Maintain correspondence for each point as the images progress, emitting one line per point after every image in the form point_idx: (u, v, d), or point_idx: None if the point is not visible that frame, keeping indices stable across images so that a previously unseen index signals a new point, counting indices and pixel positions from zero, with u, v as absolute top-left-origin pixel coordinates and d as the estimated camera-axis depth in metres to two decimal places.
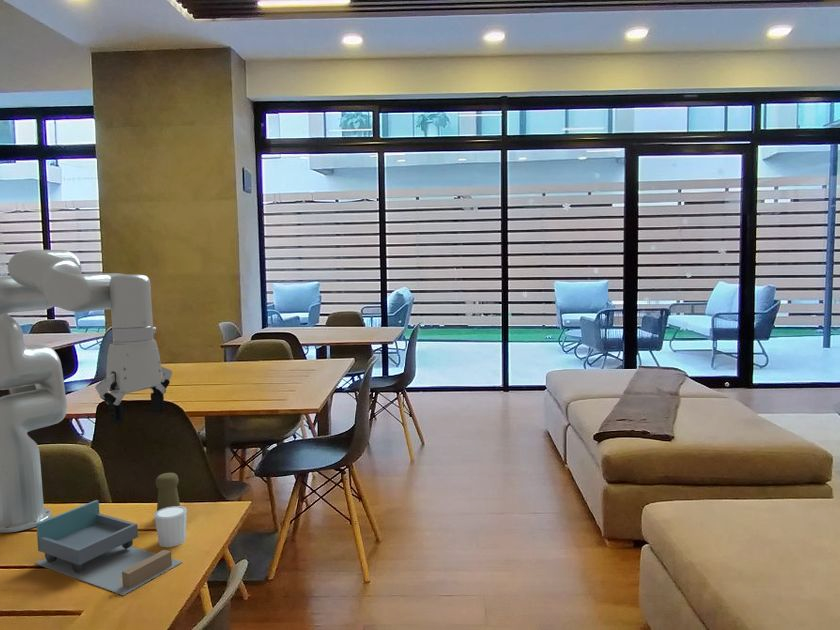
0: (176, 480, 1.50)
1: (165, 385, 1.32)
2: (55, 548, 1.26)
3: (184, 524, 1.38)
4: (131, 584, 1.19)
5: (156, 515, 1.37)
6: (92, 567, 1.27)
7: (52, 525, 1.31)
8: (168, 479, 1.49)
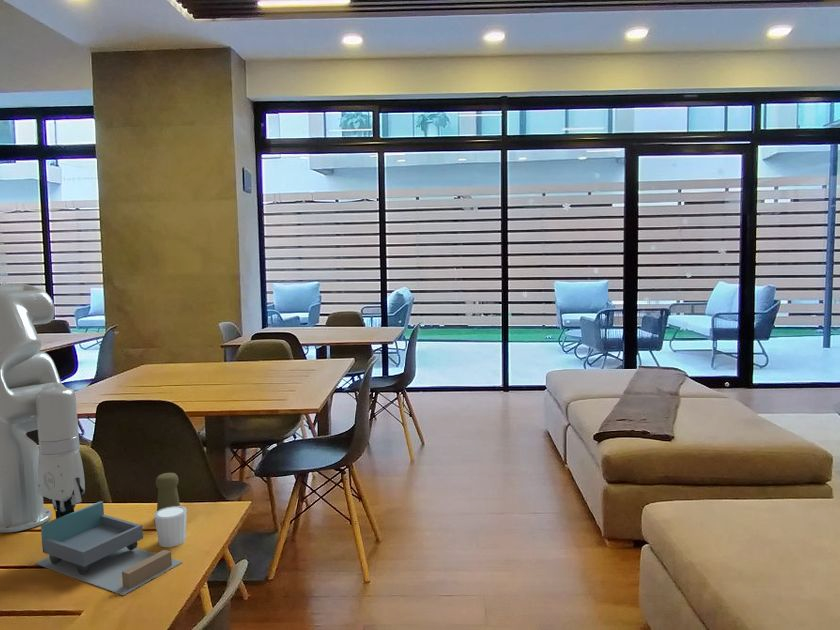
0: (176, 480, 1.50)
1: None
2: (60, 550, 1.25)
3: (184, 524, 1.38)
4: (131, 584, 1.19)
5: (156, 515, 1.37)
6: (92, 567, 1.27)
7: (56, 526, 1.30)
8: (168, 479, 1.49)
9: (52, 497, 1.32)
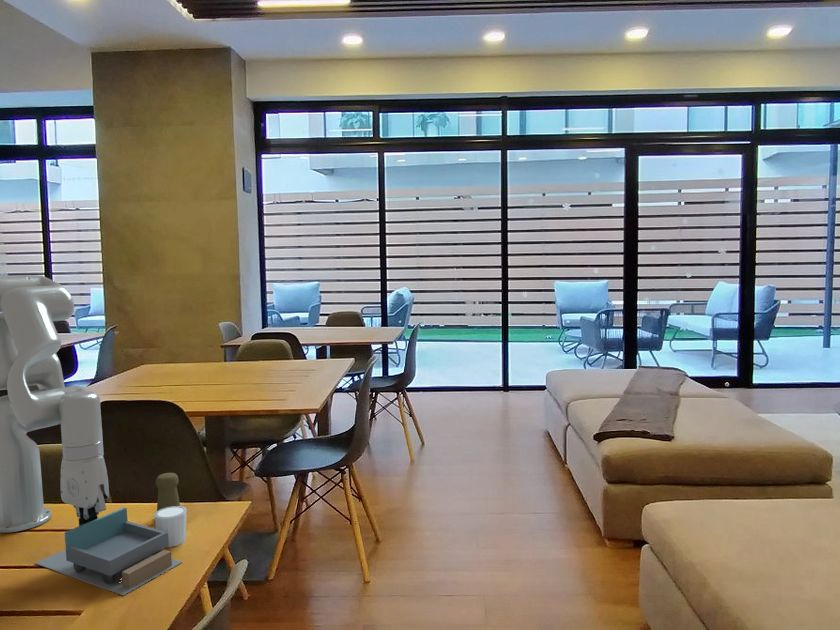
0: (176, 480, 1.50)
1: None
2: (85, 558, 1.22)
3: (184, 524, 1.38)
4: (131, 584, 1.19)
5: (156, 515, 1.37)
6: None
7: (80, 534, 1.26)
8: (168, 479, 1.49)
9: (76, 504, 1.28)
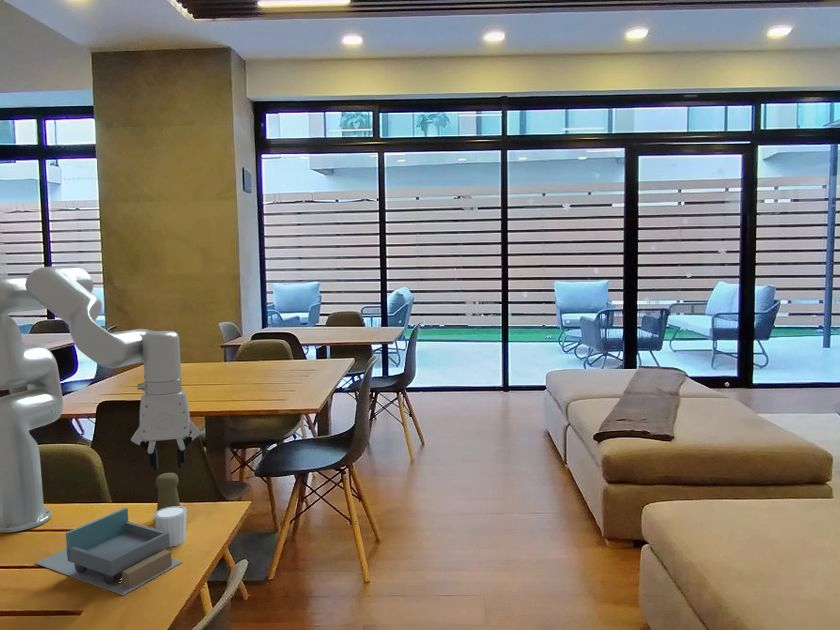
0: (176, 480, 1.50)
1: None
2: (86, 558, 1.21)
3: (184, 524, 1.38)
4: (131, 584, 1.19)
5: (156, 515, 1.37)
6: None
7: (81, 534, 1.26)
8: (168, 479, 1.49)
9: (168, 437, 1.34)
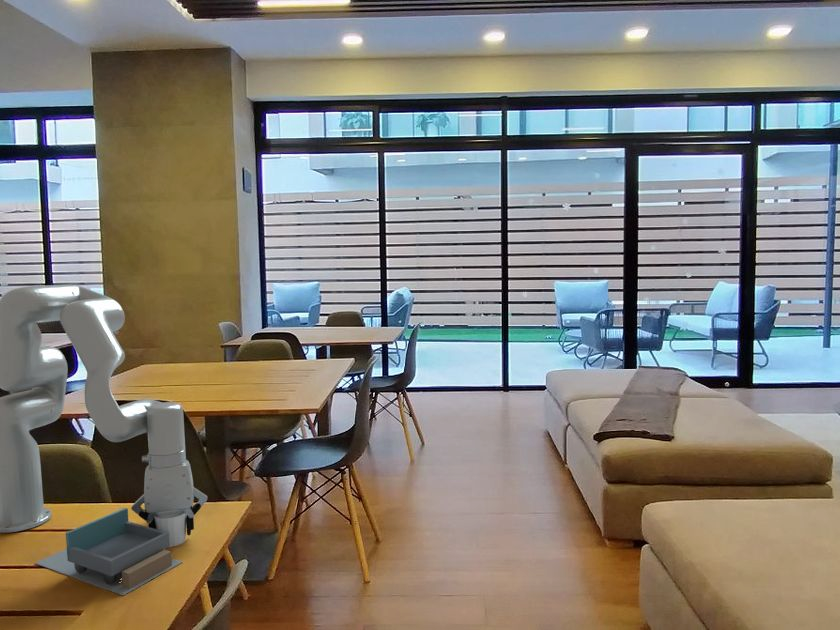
0: None
1: None
2: (86, 558, 1.21)
3: (184, 524, 1.38)
4: (131, 584, 1.19)
5: (156, 515, 1.36)
6: None
7: (81, 534, 1.26)
8: None
9: (172, 508, 1.36)
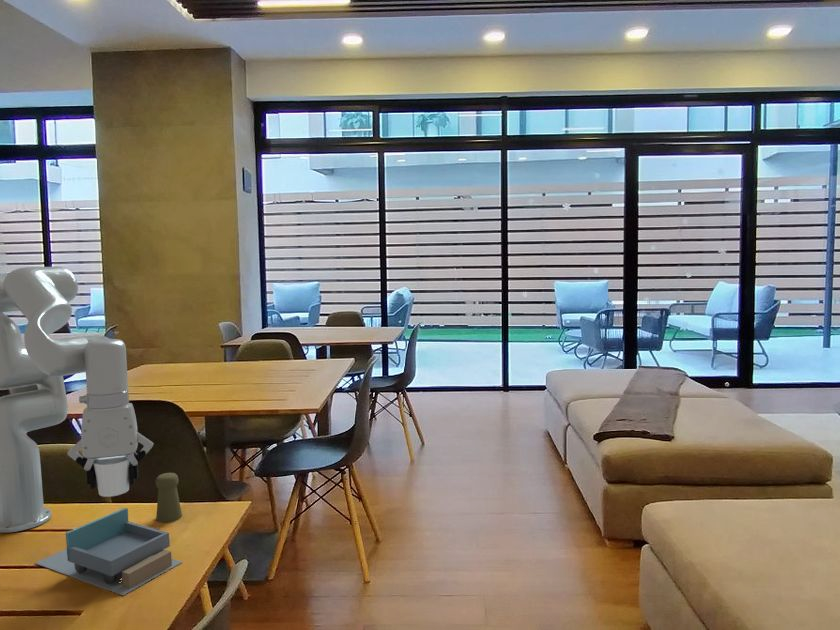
0: (176, 480, 1.50)
1: None
2: (86, 558, 1.21)
3: (127, 472, 1.27)
4: (131, 584, 1.19)
5: (95, 462, 1.25)
6: None
7: (81, 534, 1.26)
8: (168, 479, 1.49)
9: (112, 454, 1.24)
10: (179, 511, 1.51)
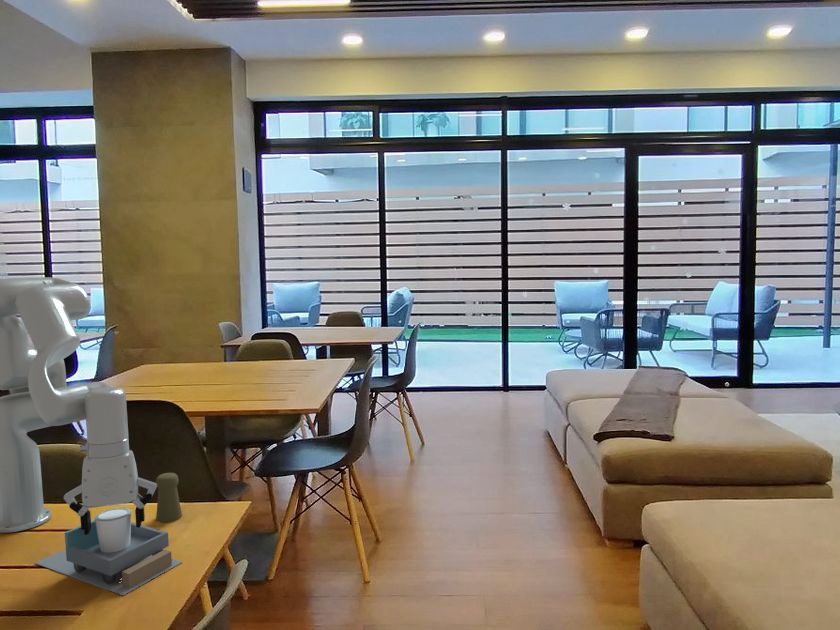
0: (176, 480, 1.50)
1: None
2: (85, 558, 1.22)
3: (127, 528, 1.27)
4: (131, 584, 1.19)
5: (96, 517, 1.26)
6: None
7: (81, 534, 1.26)
8: (168, 479, 1.49)
9: (113, 502, 1.24)
10: (179, 511, 1.51)
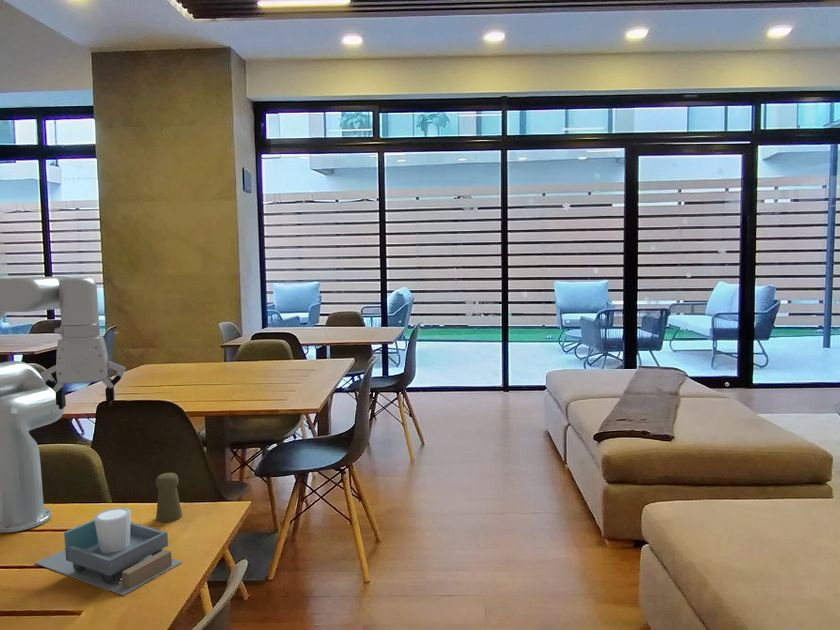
0: (176, 480, 1.50)
1: None
2: (84, 558, 1.22)
3: (126, 528, 1.27)
4: (131, 584, 1.19)
5: (96, 517, 1.26)
6: None
7: (80, 534, 1.26)
8: (168, 479, 1.49)
9: (84, 380, 1.38)
10: (179, 511, 1.51)
